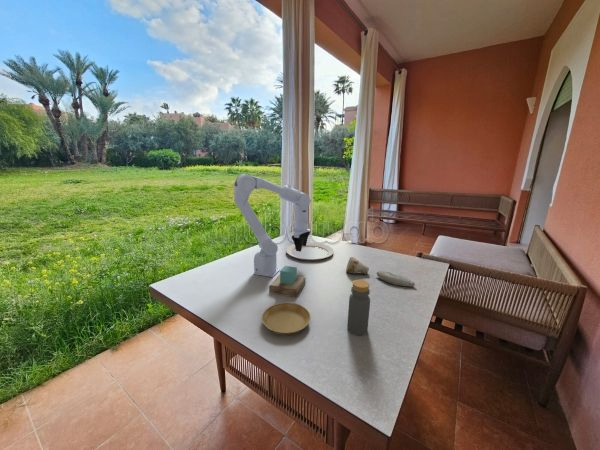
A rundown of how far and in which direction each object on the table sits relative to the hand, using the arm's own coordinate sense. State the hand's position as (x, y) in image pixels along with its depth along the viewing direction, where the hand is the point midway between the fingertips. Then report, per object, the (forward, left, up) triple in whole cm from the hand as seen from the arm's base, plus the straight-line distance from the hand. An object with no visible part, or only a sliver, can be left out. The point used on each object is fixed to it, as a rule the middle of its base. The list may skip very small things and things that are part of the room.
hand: (301, 248), depth 112 cm
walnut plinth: (+1, -20, -9) cm, 22 cm away
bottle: (+29, -36, -10) cm, 47 cm away
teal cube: (+1, -20, -6) cm, 21 cm away
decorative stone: (+41, -1, -10) cm, 42 cm away
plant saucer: (+8, -40, -10) cm, 42 cm away
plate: (-1, +19, -10) cm, 21 cm away
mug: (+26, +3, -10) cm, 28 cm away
